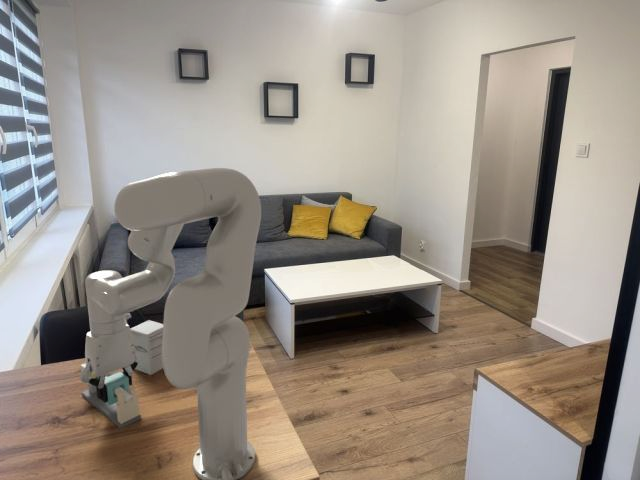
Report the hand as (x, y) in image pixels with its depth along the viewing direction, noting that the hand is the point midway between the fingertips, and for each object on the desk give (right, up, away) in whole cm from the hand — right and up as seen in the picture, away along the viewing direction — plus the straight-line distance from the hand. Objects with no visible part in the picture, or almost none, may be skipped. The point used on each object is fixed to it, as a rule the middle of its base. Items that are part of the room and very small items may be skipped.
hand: (115, 393), depth 105 cm
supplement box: (0, 0, +22) cm, 22 cm away
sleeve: (0, -1, 0) cm, 1 cm away
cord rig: (-3, -4, +3) cm, 6 cm away
